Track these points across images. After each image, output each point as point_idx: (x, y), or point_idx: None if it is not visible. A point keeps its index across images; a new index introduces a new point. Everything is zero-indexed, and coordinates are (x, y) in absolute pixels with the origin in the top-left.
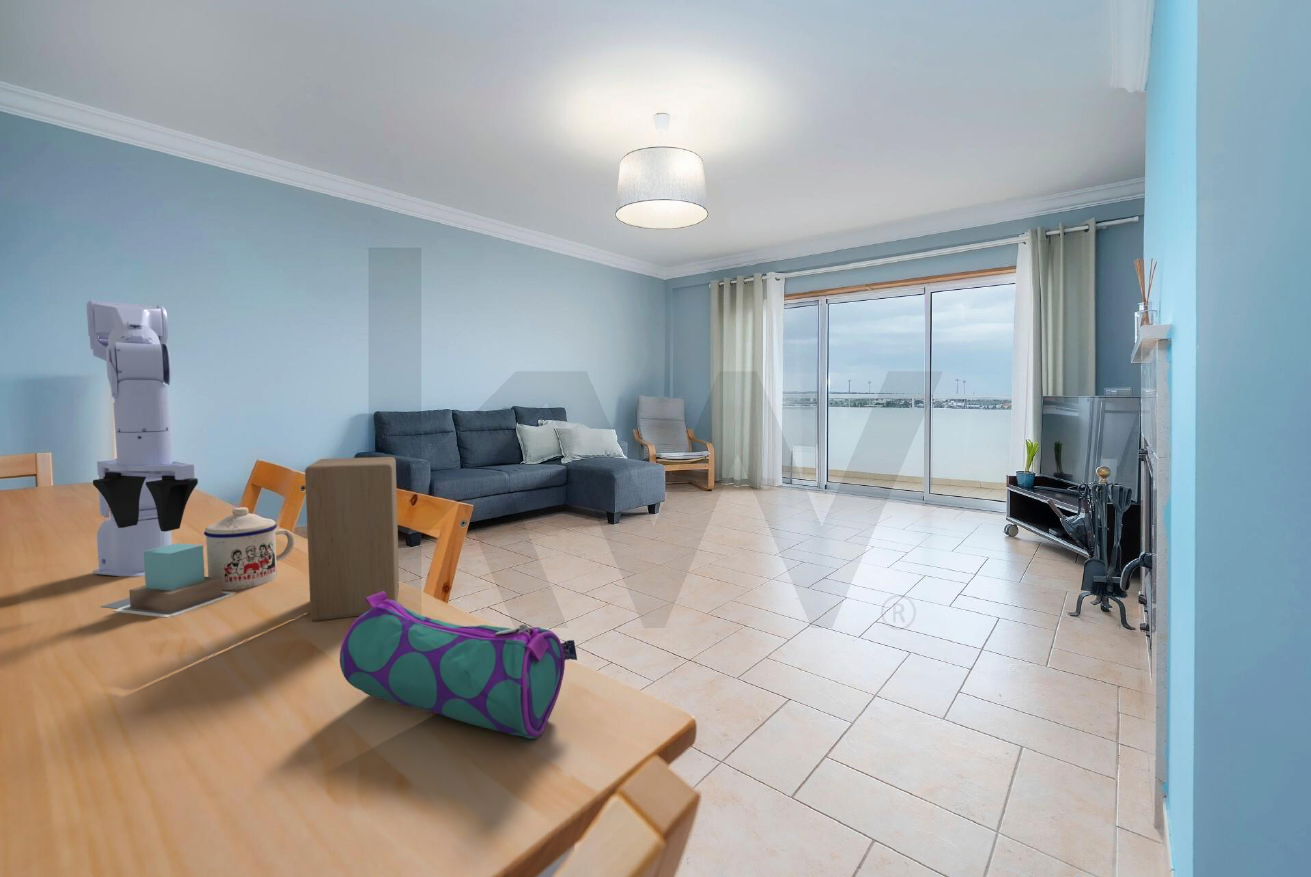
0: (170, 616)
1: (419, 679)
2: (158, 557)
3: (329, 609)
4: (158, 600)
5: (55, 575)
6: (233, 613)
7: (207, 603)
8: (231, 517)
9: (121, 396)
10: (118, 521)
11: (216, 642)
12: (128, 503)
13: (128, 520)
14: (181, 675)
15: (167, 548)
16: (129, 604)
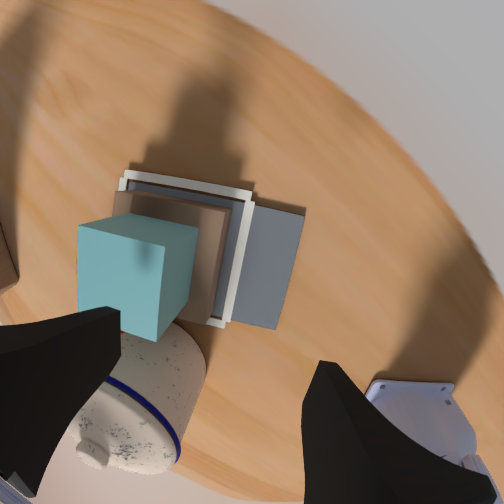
0: (124, 174)
1: None
2: (120, 231)
3: None
4: (151, 195)
5: (491, 368)
6: (65, 212)
7: None
8: (92, 434)
9: None
10: (328, 371)
11: (33, 119)
12: (322, 458)
13: (313, 397)
14: (30, 55)
15: (127, 281)
16: (254, 229)
